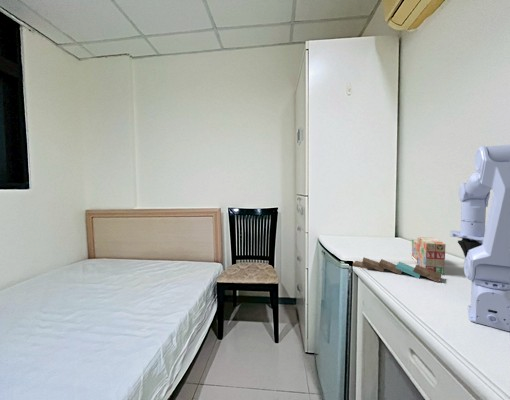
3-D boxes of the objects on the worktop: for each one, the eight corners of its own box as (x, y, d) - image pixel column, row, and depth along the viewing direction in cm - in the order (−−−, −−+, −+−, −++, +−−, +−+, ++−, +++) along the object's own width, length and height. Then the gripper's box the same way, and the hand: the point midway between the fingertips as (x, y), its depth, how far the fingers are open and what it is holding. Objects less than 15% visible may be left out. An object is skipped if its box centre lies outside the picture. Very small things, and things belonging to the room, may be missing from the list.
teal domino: (422, 271, 91) (399, 261, 96) (420, 274, 87) (396, 264, 92) (420, 274, 91) (398, 265, 96) (418, 278, 87) (395, 268, 92)
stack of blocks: (411, 258, 113) (411, 232, 112) (426, 259, 110) (427, 233, 110) (425, 273, 93) (426, 242, 92) (444, 275, 90) (445, 243, 90)
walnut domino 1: (375, 264, 101) (355, 260, 106) (372, 267, 97) (352, 263, 102) (375, 267, 101) (355, 264, 106) (372, 271, 97) (352, 267, 102)
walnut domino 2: (383, 264, 98) (363, 257, 102) (384, 268, 94) (363, 260, 97) (382, 267, 99) (362, 260, 102) (383, 272, 94) (362, 264, 98)
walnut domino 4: (441, 274, 87) (416, 264, 92) (440, 278, 83) (414, 267, 88) (440, 278, 87) (415, 268, 92) (438, 282, 83) (413, 271, 88)
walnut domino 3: (402, 267, 95) (381, 258, 99) (401, 271, 91) (379, 262, 95) (401, 271, 95) (380, 262, 100) (400, 274, 91) (378, 265, 96)
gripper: (442, 218, 82) (441, 256, 82) (482, 224, 67) (480, 271, 68) (462, 218, 82) (461, 256, 82) (506, 224, 67) (505, 271, 68)
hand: (471, 263), depth 75 cm, fingers closed
